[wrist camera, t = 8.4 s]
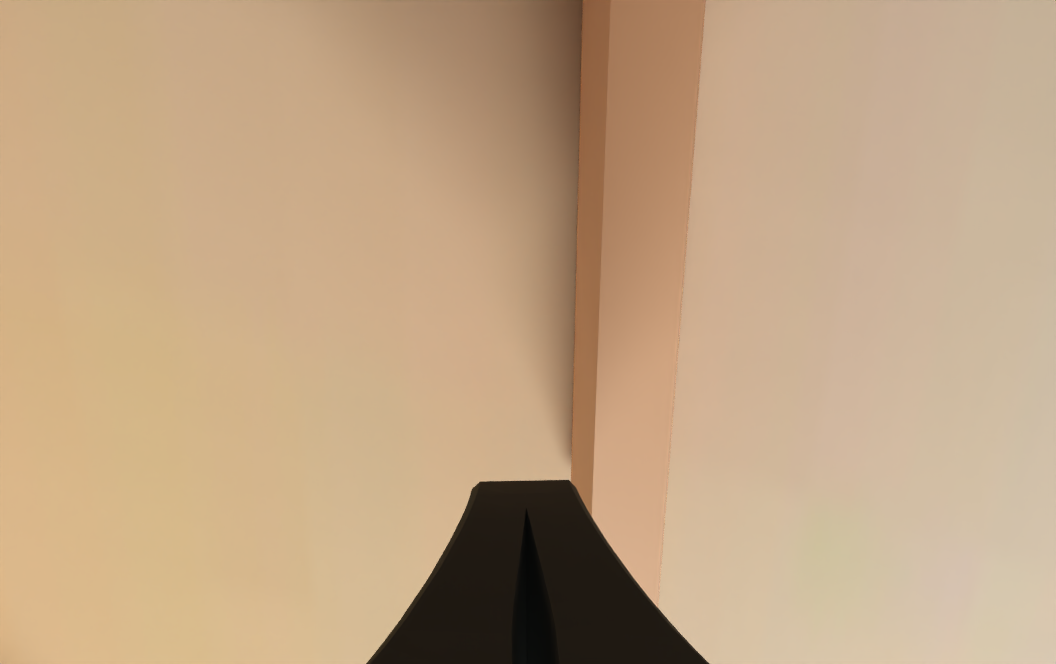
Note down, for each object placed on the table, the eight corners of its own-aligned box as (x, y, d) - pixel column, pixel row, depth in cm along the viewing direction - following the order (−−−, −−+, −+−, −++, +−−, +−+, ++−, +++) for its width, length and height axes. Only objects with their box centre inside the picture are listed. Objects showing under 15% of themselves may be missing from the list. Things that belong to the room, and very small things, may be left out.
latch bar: (641, 489, 17) (682, 637, 13) (552, 491, 17) (566, 639, 13) (700, -434, 11) (810, -697, 7) (565, -436, 11) (597, -701, 7)
